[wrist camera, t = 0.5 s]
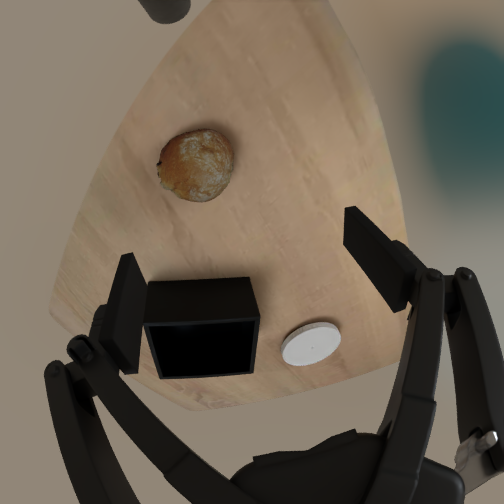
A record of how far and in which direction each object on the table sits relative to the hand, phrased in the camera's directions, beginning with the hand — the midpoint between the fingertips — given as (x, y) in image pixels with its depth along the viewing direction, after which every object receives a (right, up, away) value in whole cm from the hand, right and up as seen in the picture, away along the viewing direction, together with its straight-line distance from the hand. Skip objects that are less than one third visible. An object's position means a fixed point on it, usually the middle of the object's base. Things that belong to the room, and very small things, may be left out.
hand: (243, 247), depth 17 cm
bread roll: (-7, +12, +21) cm, 25 cm away
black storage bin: (-9, -12, +36) cm, 39 cm away
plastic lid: (+14, -20, +47) cm, 53 cm away
